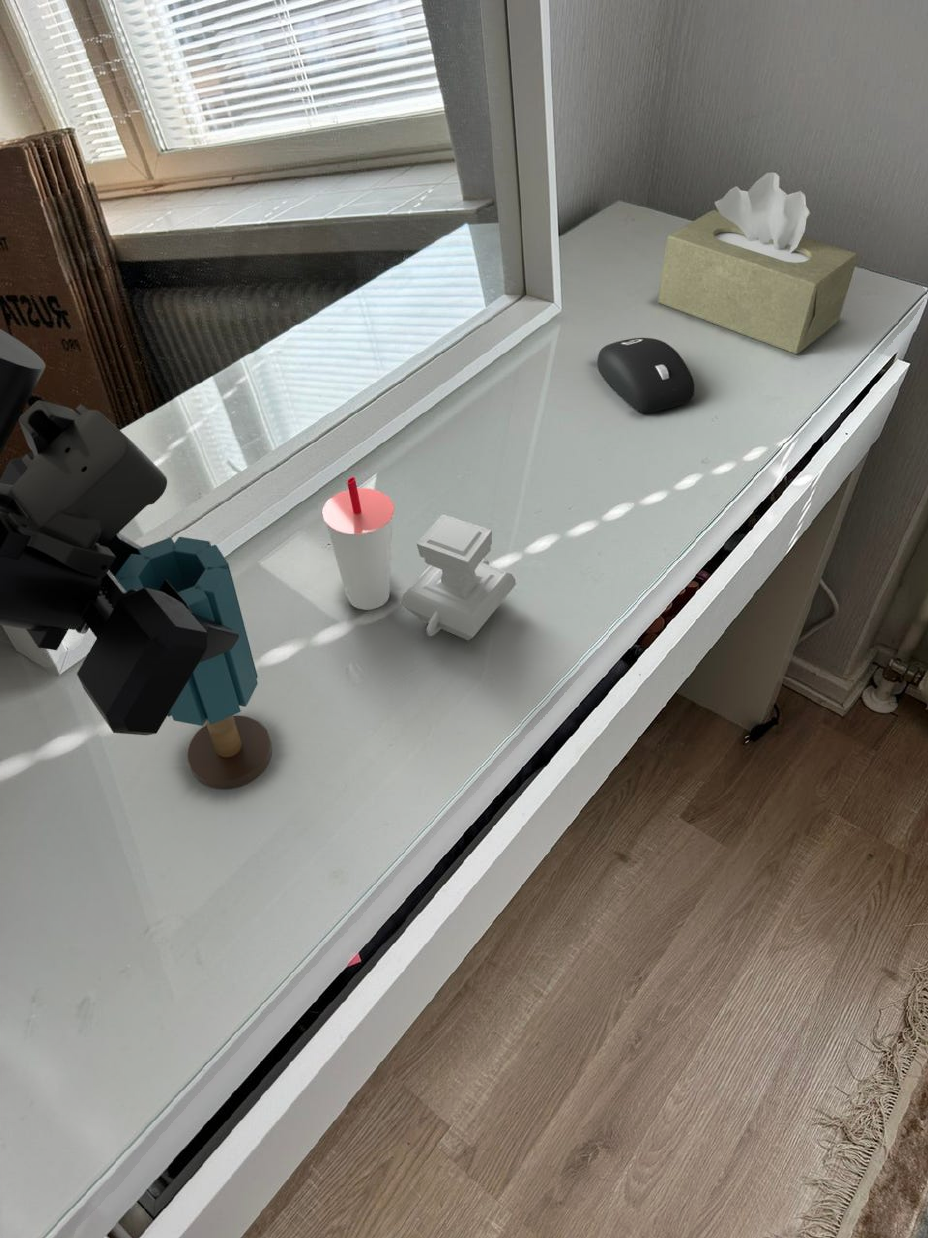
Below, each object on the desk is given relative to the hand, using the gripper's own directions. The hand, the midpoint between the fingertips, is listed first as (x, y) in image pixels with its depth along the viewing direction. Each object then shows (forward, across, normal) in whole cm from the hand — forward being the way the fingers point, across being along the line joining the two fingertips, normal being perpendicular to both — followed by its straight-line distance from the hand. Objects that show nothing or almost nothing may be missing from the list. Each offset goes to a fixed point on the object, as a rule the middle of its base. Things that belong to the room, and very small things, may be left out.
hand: (208, 611), depth 55 cm
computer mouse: (+49, +15, -30) cm, 59 cm away
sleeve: (+3, 0, +5) cm, 6 cm away
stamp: (+23, 0, -4) cm, 24 cm away
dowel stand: (+9, 0, +10) cm, 14 cm away
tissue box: (+63, +18, -44) cm, 79 cm away
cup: (+20, +7, -1) cm, 22 cm away
